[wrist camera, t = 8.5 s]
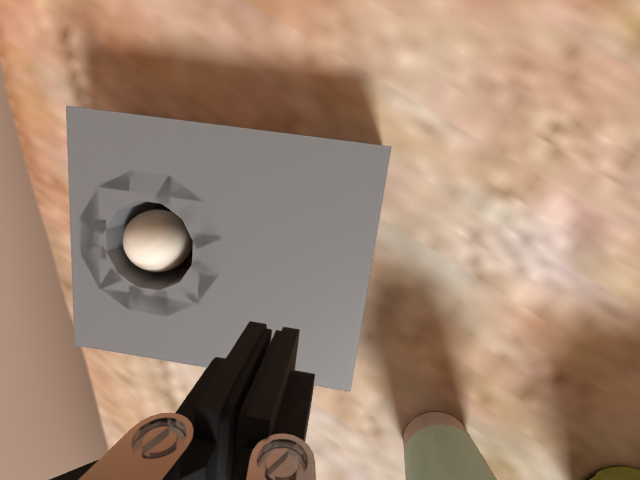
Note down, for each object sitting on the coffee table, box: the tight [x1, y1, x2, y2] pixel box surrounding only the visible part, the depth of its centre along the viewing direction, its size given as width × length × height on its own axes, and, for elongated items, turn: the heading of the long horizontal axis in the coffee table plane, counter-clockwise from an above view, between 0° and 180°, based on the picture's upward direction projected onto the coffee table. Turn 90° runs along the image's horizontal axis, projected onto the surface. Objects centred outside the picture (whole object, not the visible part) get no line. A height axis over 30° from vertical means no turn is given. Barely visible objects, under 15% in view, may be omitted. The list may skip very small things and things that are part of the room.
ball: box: [123, 209, 192, 272], centre depth 27 cm, size 5×5×5 cm
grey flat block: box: [66, 106, 391, 392], centre depth 26 cm, size 18×22×5 cm
